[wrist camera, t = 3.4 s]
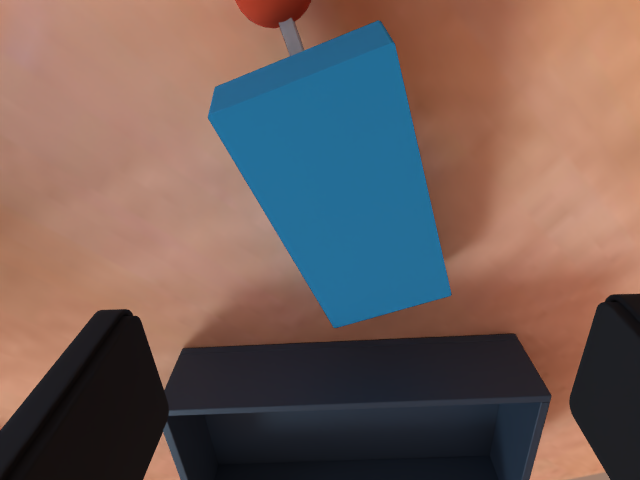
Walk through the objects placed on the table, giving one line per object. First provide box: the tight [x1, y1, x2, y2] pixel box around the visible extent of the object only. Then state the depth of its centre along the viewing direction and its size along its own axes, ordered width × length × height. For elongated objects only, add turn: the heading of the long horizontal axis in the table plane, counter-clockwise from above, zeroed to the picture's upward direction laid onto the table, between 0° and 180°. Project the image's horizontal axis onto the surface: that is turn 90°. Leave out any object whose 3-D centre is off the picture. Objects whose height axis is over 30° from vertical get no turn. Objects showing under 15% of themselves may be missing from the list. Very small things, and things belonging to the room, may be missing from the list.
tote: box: [163, 334, 551, 480], centre depth 28 cm, size 12×22×5 cm, turn 94°
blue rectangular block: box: [208, 0, 452, 328], centre depth 20 cm, size 7×7×18 cm
